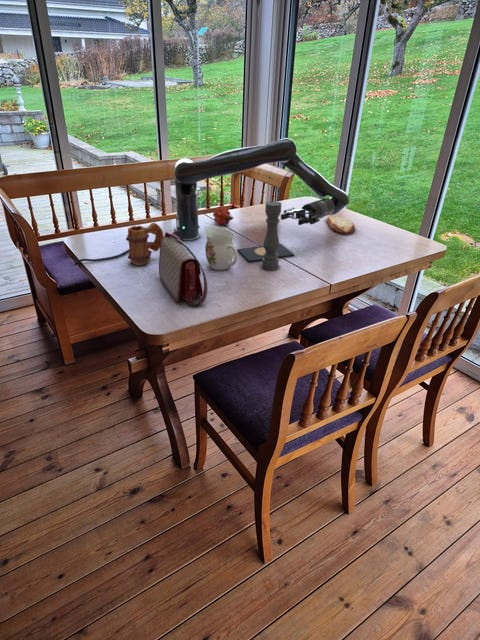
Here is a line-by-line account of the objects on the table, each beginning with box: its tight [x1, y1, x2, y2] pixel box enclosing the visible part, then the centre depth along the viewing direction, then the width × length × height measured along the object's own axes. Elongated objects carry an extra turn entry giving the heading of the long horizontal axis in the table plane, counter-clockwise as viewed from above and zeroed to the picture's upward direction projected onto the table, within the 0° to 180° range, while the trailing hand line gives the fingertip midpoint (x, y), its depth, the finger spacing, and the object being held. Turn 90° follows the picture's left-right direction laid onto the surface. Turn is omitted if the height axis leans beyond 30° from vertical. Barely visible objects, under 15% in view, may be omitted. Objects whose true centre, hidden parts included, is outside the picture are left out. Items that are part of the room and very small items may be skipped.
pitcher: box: [204, 226, 239, 271], centre depth 172 cm, size 11×18×14 cm, turn 41°
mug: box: [125, 222, 164, 266], centre depth 175 cm, size 15×8×15 cm, turn 117°
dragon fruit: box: [212, 205, 234, 226], centre depth 218 cm, size 8×8×12 cm
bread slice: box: [326, 215, 356, 236], centre depth 217 cm, size 18×18×4 cm
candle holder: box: [261, 200, 282, 271], centre depth 170 cm, size 6×6×25 cm
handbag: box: [158, 231, 208, 306], centre depth 153 cm, size 28×11×17 cm, turn 25°
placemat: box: [236, 243, 295, 263], centre depth 188 cm, size 20×13×1 cm, turn 111°
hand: (290, 219), depth 174 cm, fingers open, 8 cm apart
